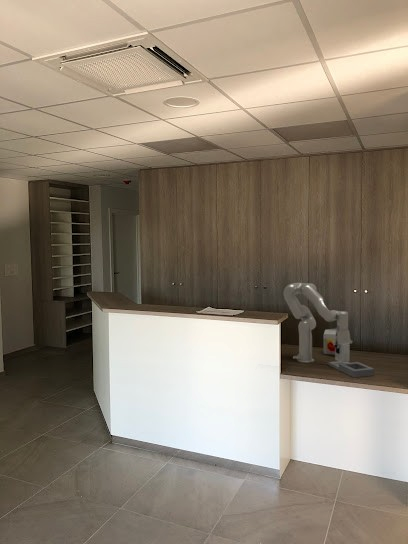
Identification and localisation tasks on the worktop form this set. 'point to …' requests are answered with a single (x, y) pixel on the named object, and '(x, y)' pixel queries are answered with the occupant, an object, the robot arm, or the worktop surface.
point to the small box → (343, 353)
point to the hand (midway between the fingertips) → (342, 352)
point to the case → (353, 368)
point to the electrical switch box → (329, 341)
